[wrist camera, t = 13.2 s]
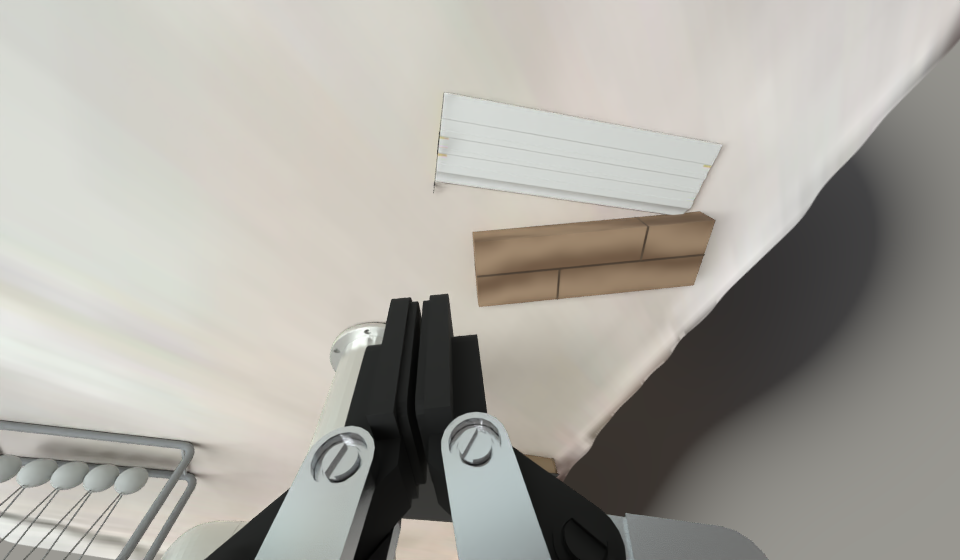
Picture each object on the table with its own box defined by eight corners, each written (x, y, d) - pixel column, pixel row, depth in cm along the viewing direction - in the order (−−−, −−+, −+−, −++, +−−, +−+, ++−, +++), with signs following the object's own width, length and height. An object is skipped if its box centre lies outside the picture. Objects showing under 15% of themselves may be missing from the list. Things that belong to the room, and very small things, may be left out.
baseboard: (672, 224, 43) (713, 141, 38) (686, 234, 41) (731, 146, 36) (432, 191, 38) (443, 90, 33) (432, 200, 36) (443, 92, 31)
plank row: (681, 274, 47) (694, 285, 44) (476, 294, 45) (478, 307, 43) (700, 211, 42) (715, 220, 39) (472, 232, 40) (474, 242, 38)
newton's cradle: (-18, 455, 53) (-199, 609, 38) (-43, 413, 48) (-261, 571, 33) (202, 476, 61) (124, 609, 46) (201, 441, 56) (113, 579, 41)
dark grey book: (560, 475, 65) (509, 531, 77) (554, 454, 69) (506, 511, 80) (387, 453, 56) (359, 520, 68) (390, 431, 60) (363, 498, 71)
